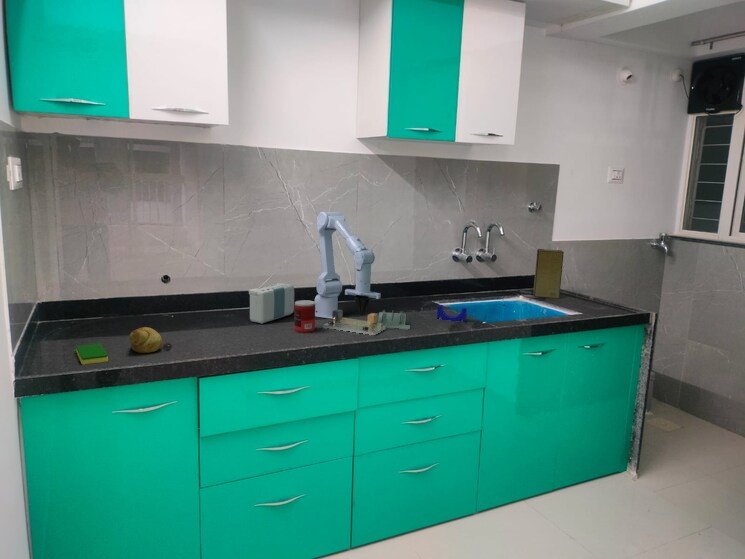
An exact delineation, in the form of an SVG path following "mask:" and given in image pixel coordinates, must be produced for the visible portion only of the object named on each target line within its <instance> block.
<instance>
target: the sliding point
mask: <svg viewBox="0 0 745 559" xmlns="http://www.w3.org/2000/svg"><path fill="white" fill-rule="evenodd" d="M378 318H379V313H375V312H371V313H369V314H367V321H368V323H369V327H371V323H375V322H377V323H378Z"/></svg>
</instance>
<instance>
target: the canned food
mask: <svg viewBox="0 0 745 559" xmlns="http://www.w3.org/2000/svg"><path fill="white" fill-rule="evenodd" d="M314 301H315V300H314ZM314 301H313V300H307V299H306V300H305V299H301V300H296V301H294V321H293V322H294V324H293V325H294V331H295V332H296V333H299V332H300V334H309V333H308V332H310V333H313V332H315V329H316V316H315V302H314Z"/></svg>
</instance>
